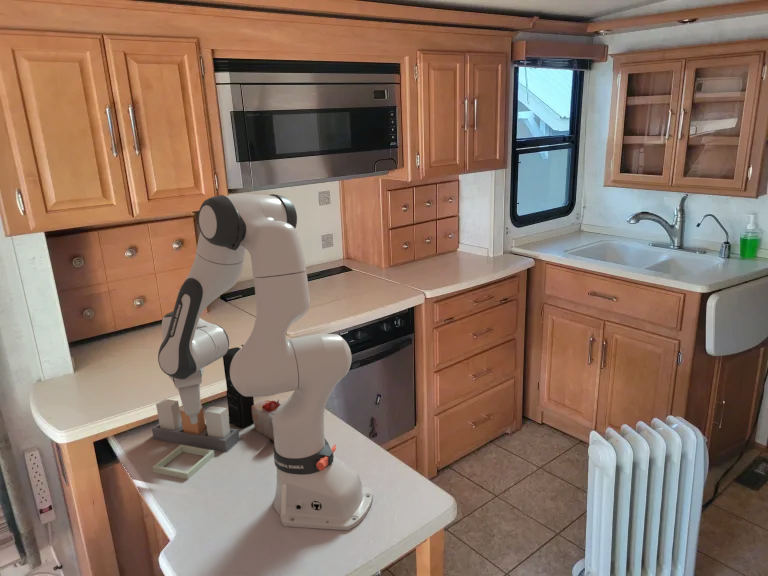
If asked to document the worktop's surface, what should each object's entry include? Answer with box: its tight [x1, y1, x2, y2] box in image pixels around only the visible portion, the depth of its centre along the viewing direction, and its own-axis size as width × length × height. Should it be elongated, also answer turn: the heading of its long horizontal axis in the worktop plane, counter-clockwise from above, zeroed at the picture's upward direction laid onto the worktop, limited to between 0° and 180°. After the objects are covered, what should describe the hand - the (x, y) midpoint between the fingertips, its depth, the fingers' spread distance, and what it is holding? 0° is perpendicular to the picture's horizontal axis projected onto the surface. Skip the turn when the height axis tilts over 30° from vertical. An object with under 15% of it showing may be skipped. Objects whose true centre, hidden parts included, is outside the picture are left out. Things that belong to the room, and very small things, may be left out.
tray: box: [152, 444, 216, 480], centre depth 144 cm, size 11×11×2 cm
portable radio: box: [222, 344, 255, 430], centre depth 161 cm, size 8×6×25 cm
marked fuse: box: [179, 403, 206, 435], centre depth 154 cm, size 5×3×10 cm, turn 70°
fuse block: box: [150, 398, 242, 453], centre depth 155 cm, size 25×7×11 cm, turn 70°
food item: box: [251, 399, 282, 442], centre depth 157 cm, size 14×8×10 cm, turn 45°
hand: (192, 414), depth 154 cm, fingers open, 8 cm apart
